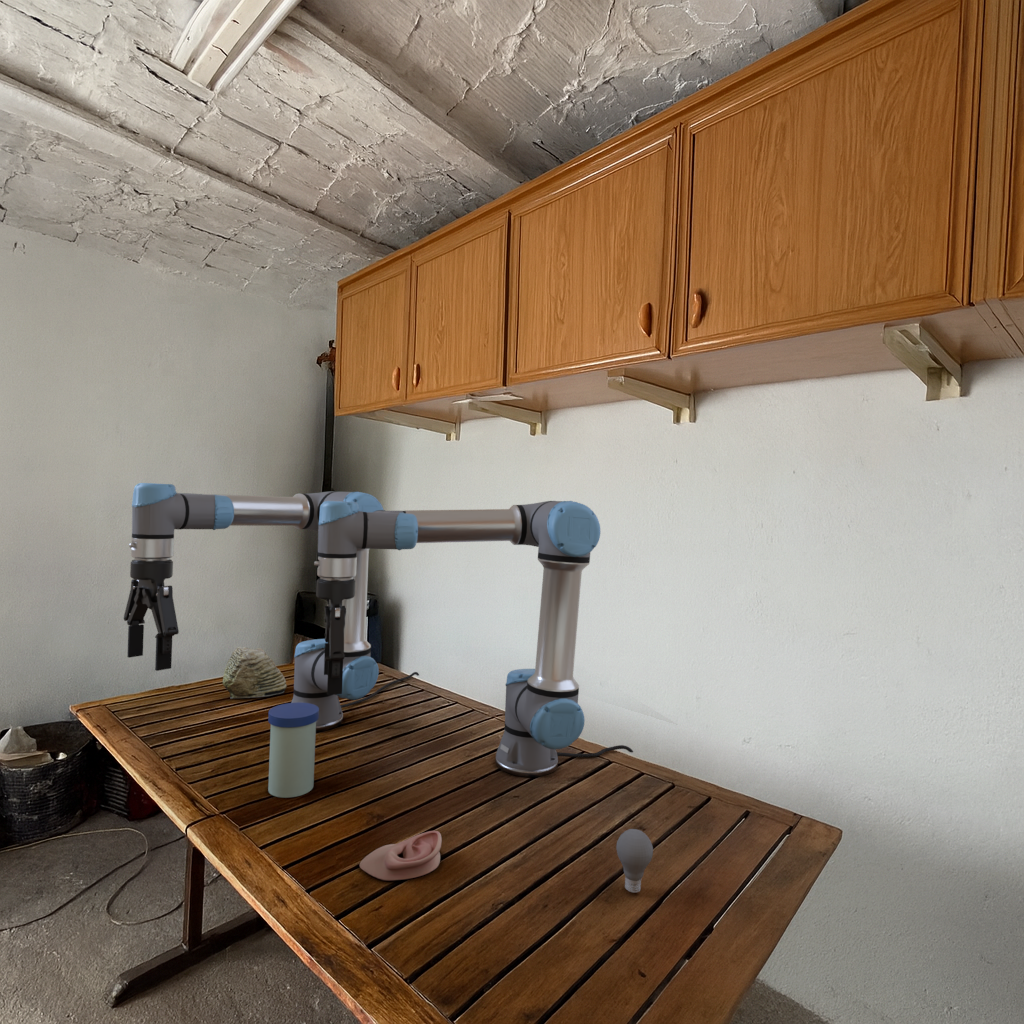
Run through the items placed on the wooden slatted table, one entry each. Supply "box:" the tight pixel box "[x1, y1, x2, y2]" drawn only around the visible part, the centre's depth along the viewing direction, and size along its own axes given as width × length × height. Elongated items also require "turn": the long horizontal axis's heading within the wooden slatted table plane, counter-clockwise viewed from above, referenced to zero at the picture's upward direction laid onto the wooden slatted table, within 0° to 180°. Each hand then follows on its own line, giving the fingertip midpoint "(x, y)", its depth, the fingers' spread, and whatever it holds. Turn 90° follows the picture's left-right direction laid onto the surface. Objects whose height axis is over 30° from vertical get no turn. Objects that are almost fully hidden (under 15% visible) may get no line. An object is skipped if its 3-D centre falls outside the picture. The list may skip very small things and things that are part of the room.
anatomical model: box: [359, 830, 443, 882], centre depth 111 cm, size 13×4×12 cm
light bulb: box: [615, 828, 654, 894], centre depth 106 cm, size 6×6×10 cm
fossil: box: [222, 646, 288, 699], centre depth 198 cm, size 9×18×15 cm, turn 132°
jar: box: [267, 722, 317, 799], centre depth 137 cm, size 9×9×16 cm
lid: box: [267, 702, 319, 728], centre depth 137 cm, size 10×10×2 cm
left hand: (148, 662), depth 129 cm, fingers open, 13 cm apart
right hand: (332, 683), depth 127 cm, fingers open, 13 cm apart
